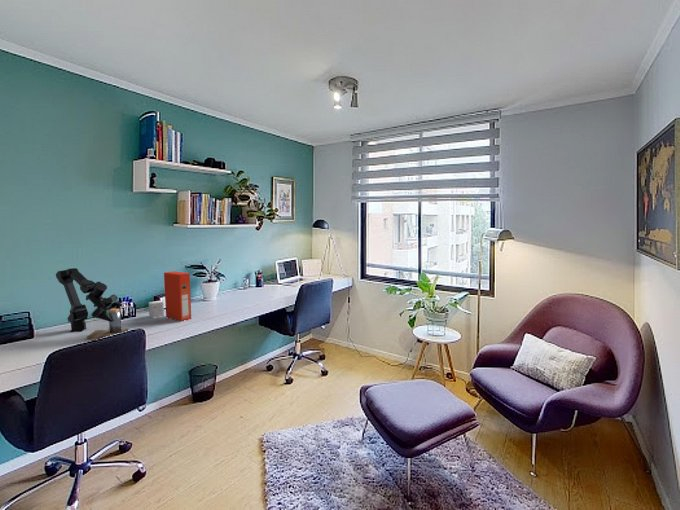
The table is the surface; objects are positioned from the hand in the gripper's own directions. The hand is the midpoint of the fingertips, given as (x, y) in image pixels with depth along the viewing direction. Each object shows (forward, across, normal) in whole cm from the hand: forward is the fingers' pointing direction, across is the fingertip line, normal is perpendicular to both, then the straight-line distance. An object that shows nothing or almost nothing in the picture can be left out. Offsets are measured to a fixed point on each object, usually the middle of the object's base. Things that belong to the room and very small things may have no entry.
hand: (117, 319), depth 213 cm
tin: (+4, 0, +6) cm, 8 cm away
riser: (+3, -1, +10) cm, 11 cm away
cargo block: (-4, 0, -2) cm, 5 cm away
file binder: (+20, +38, -6) cm, 43 cm away
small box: (+7, +41, +7) cm, 42 cm away
